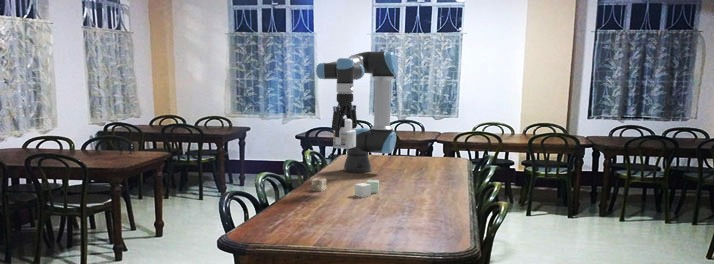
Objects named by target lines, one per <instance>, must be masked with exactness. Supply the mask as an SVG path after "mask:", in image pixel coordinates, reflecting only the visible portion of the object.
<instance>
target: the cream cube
mask: <svg viewBox="0 0 714 264" xmlns="http://www.w3.org/2000/svg"><path fill="white" fill-rule="evenodd" d="M354 196H356V197H358V198H362V197H363V198H366V197H367V196H368V197H372V193H371V185H370V184H367V182H361V183H355V184H354Z"/></svg>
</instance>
